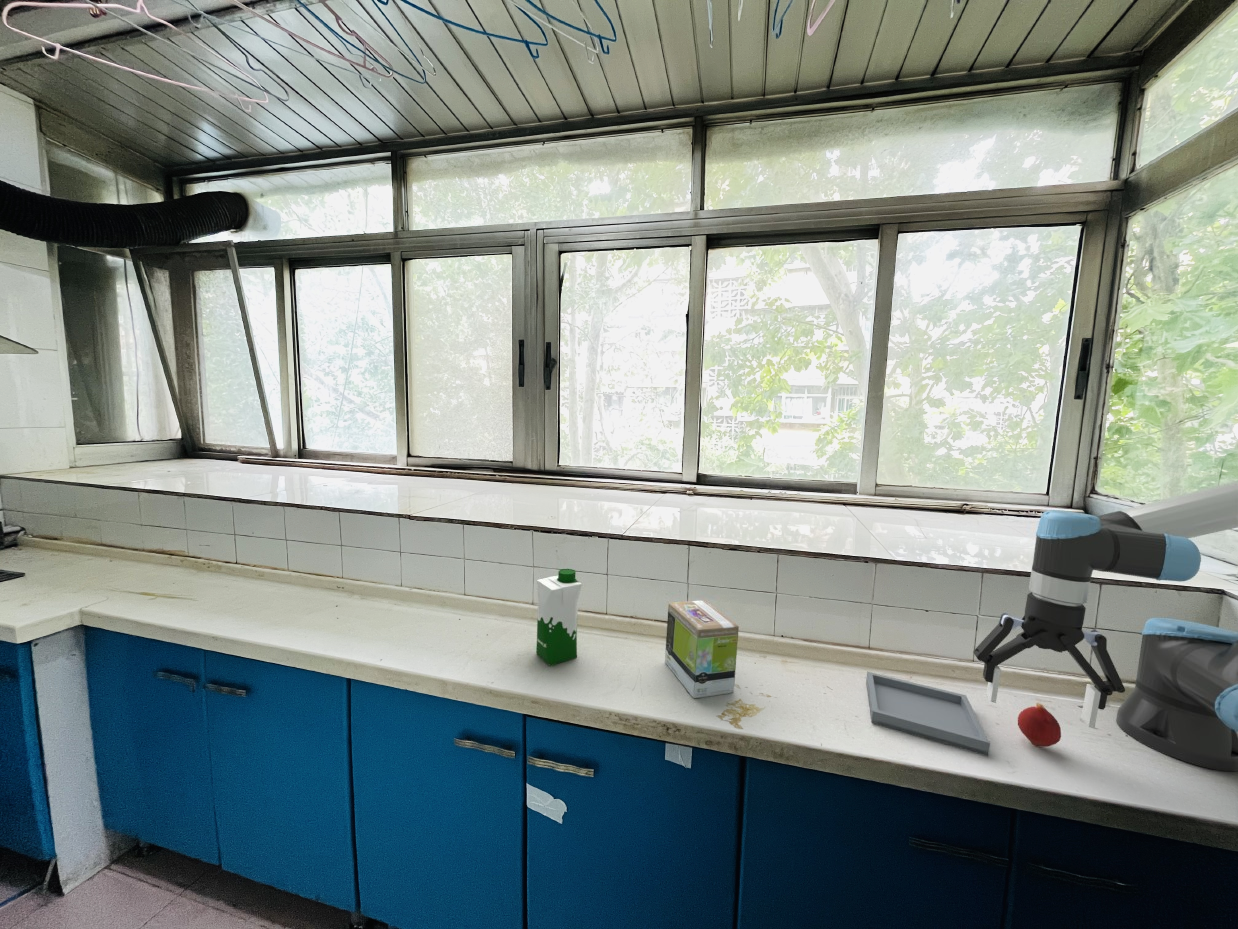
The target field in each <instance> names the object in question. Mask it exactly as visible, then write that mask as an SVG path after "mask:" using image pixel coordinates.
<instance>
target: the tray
mask: <svg viewBox="0 0 1238 929" xmlns="http://www.w3.org/2000/svg"><path fill="white" fill-rule="evenodd" d="M865 678H866V679H865V685H866V691H867V699H868V706H869V714H870V721H871V724H872V725H876V726H880V727H884V728H886V729H890V730H894V731H897V732H899V733H900V732H901V733H904V734H908V735H911V736H916V737H919V738H921V739H925V740H929V741H933V742H937V743H939V744H944V745H947V746H951V747H954V748H958V749H962V750H965V751H968V752H971V753H975V754H978V755H982V756H986V757H989V756H990V755H989V754H990V747H991V742H990V740H989V738H988V736H987V735H986V733H985V730H984V729H983V726H982V724H981V723H980V720H979V718H978V717H977V715H976V714H977V713H975V711H974V709H973V706H972V705H971V702H970V701H969V698H968V696H967V695H966V694H962V693H959V692H954V691H949V690H946V689H942V688H938V687H933V686H929V685H924V684H921V683H918V682H917V683H916V682H913V681H909V680H904V679H900V678H895V677H892V676H888V675H884V674H881V673H875V672H871V671H867V672H866V677H865Z"/></svg>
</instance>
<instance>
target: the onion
mask: <svg viewBox="0 0 1238 929" xmlns="http://www.w3.org/2000/svg"><path fill="white" fill-rule="evenodd" d="M1060 725H1061V724H1059V722H1058V720H1057V718H1056V717H1055V716H1054V715H1053V714H1052V713H1051V712H1049V711H1048V710H1047V709H1046V708H1045V706H1044V705H1043V704H1042V703H1040V702H1036V706H1030V707H1027V708H1024V709H1023V710H1021V711H1020V712H1019V713H1018V716H1017V727H1018V728H1019V730H1020V732H1021V733H1022V734H1023V735H1024V736H1025V738H1026V739H1027V740H1028V741H1029V742H1030V743H1031V744H1032V745H1033V746H1035V747H1041V748H1044V747H1050V746H1054V745H1057V744H1058V743H1059V742H1060V741H1061V738H1062V730H1061V726H1060Z"/></svg>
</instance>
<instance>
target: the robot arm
mask: <svg viewBox="0 0 1238 929" xmlns="http://www.w3.org/2000/svg"><path fill="white" fill-rule="evenodd" d="M1237 528H1238V480H1236V481H1231V482H1228V483H1227V482H1226V483H1223V484H1220V485H1219V484H1218V485H1216V486H1212V487H1208V488H1203V489H1200V490H1196V491H1192V492H1188V493H1184V494H1180V495H1176V496H1172V497H1169V498H1165V499H1160V500H1157V501H1153V502H1149V503H1145V504H1141V505H1138V506H1134V507H1133V506H1132V507H1130V508H1126V509H1122V510H1117V511H1112V512H1109V513H1104V514H1101V515H1093V514H1087V513H1083V512H1082V513H1081V512H1078V511H1077V512H1074V511H1068V510H1059V509H1058V510H1057V509H1056V510H1055V509H1051V510H1046V511H1044V512H1042V513H1041V516H1040V519H1039V521H1038V525H1037V530H1036V532H1035V536H1036V537H1035V544H1034V552H1033V561H1032V564H1031V565H1032V566H1031V571H1030V578H1029V583H1028V591H1030V592H1029V593H1027V596H1026V601H1025V607H1024V615H1023V616H1022V617H1021V619H1020V618H1017V617H1013V616H1011V615H1010V614H1008V613H1006V612H1005V613H1002V614H1001V615H1000V617H999V621H998V624H997V625H996V626H995V627H994V628H993V629H992V630H991V631H990V633H988V635H986V637H984V639H983V640H982V641H981V642H980V643H979V644H978V645H977V646H976V647H975V649H974V650H973V652H972V653H973V654H974V655H975V657H976V659H977V660H978V661H980V662H983V663H984V665H983V671H982V676H983V679H984V681H985V682H987V687H986V694H985V695H986V697H987V698H988V699H989V701H990V703H994V704H997V698H998V692H999V685H1000V679H1001V678H1000V677H1001V672H1002V668H1000V666H999V665H1001V664H1002V663H1004V662H1006V661H1007V660H1009V659H1011V658H1012V657H1015V655H1019V653H1021V652H1023V651H1025V650H1026V649H1031V648H1033V647H1034V646H1035V647H1038V649H1042V650H1052V651H1054V652H1057V653H1063V652H1066V651H1067V652H1068V654H1069V655H1070V656H1071V657H1072V659H1073V660H1074V661H1075V662H1076V663H1077V665H1078V666H1079V667H1080V668H1081V669H1082V671H1083V672H1084V674H1085V675H1086V676H1087V677H1088V679H1089V680H1090V681H1091V682H1092V683H1093V684H1089V683H1087V684H1086V687H1085V694H1084V697H1083V698H1084V699H1083V705H1082V711H1081V717H1080V718H1081V720H1082V721H1083V722H1084V724H1085V725H1086V726H1087V727H1088V728H1091V729H1095V727H1096V723H1097V716H1098V712H1099V710H1101V711H1102V710H1103V711H1104V710H1105V708H1106V707H1107V699H1108V696H1112V695H1113V693H1116V692H1117V693H1120V694H1124V693H1125V692H1126V688H1125V686H1124V683H1123V681H1122V680H1121V677H1120V676H1119V673H1118V671H1117V668H1116V667H1115V665H1114V662H1113V659H1112V658H1111V655H1110V653H1109V652H1108V650H1107V645H1108V640H1107V637H1106V636H1104V635H1103V634H1102V633H1100V632H1099V631H1098V630H1096V629H1095V630H1094V629H1093V630H1090V631H1084V630H1083V626H1084V622H1085V616H1086V611H1087V610H1086V609H1087V608H1086V606H1085V605H1084V604H1087V603H1088V599H1089V598H1088V597H1089V592H1090V586H1091V582H1092V581H1091V580H1092V577H1093V576H1092V575H1093V571H1097V572H1102V573H1104V572H1106V573H1113V574H1117V575H1118V574H1120V575H1125V576H1131V577H1132V576H1134V577H1137V578H1138V577H1139V578H1146V579H1153V580H1156V581H1168V582H1169V581H1171V582H1178V583H1179V582H1186V581H1189V580H1191V579H1193V578H1194V577H1195V576H1196V575H1197V574H1198V572H1199V571H1200V567H1201V562H1202V555H1201V552H1200V550H1199V548H1198V545H1196V543H1195V542H1193V541H1192V540H1191V538H1192V539H1193V538H1195V537H1196V538H1197V537H1200V536H1206V535H1210V534H1213V533H1214V534H1215V533H1218V532H1224V531H1227V530H1232V529H1237ZM1018 627H1021V629H1022V632H1020V633H1018V634H1017V635H1015V636H1016V637H1014V638H1012V639H1011V640H1009V641H1008V642H1006V643H1004V644H1002V642H1004V640H1005V639H1006V638H1007V637H1008V635H1009V634H1010V633H1011V632H1012V630H1013V631H1014V630H1016V628H1018ZM1141 636H1142V637H1141V645H1140V652H1139V658H1138V665H1137V671H1136V679H1135V685H1134V688H1133V689H1132V691H1131V692H1130V693H1129V695H1128V696H1126V698H1125V700H1124V701H1123V702H1122V703H1121V705H1120V706H1119V707H1118V709H1117V712H1116V719H1115V721H1116V724H1117V725H1118V726H1119V728H1120V729H1121V730H1123V731H1124V732H1125V733H1126V734H1128V735H1129V736H1130V737H1132V738H1134V739H1135V740H1137V741H1138V742H1140V743H1142V744H1144V745H1146V746H1148V747H1149V748H1151V749H1153V750H1156V751H1158V752H1161V753H1162V754H1164V755H1167V756H1170V757H1172V758H1174V759H1178V760H1180V761H1183V762H1186V763H1189V764H1193V765H1196V766H1199V767H1202V768H1206V769H1207V768H1208V769H1210V770H1215V771H1216V770H1217V771H1224V772H1237V771H1238V632H1237V631H1233V630H1230V629H1226V628H1222V627H1218V626H1213V625H1210V624H1204V623H1199V622H1194V621H1188V620H1182V619H1176V618H1170V617H1167V618H1166V617H1151V618H1149V619H1148V620H1147V621H1146V622H1145V625H1144V627H1143V630H1142V632H1141ZM1083 640H1085V641H1086V642H1087V643H1088V644H1089V645H1090V647H1091V649H1092V652H1093V654H1094V656H1095V658H1096V661H1097V662H1098V664H1099V666H1100V669H1101V671H1102V673H1103V675H1104V677H1105V679H1106V680H1103V679H1102V677H1101V676H1100V674H1098V672H1097V671H1096V670H1095V669H1094V668H1093V667H1092V665H1091V664H1090V663H1089V662H1088V660H1087V659H1086V657H1084V655H1083V654H1082V652H1081V651H1080V650H1079V649H1078V647H1077V645H1078V644H1079V643H1081V642H1082V641H1083ZM1000 644H1002V645H1001V646H999V645H1000ZM998 646H999V647H998ZM997 647H998V648H997Z"/></svg>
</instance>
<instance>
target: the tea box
mask: <svg viewBox="0 0 1238 929" xmlns="http://www.w3.org/2000/svg"><path fill="white" fill-rule="evenodd" d="M667 606H668V607H667V622H666V623H667V624H666V635H665V638H666V639H665V653H664V663H665V664H666V665H667V666H668V668H669V669H670V670H671V672H673V674H674V675H675V676H676V678H677V679H678V681H679V682H680V683H681V685H682V686H683V687H684V689H686V690H687V691H688V693H689V695H690V696H692V698H693V699H698V698H707V697H714V696H719V695H726V694H731V693H734V691H735V679H736V668H737V657H738V656H737V655H738V641H739V628H740V626H739V625H738V624H737V623H736V622H735V621H733V620H732V619H731V618H730V617H727V615H725V614H723V613H722V612H721V611H720V610H718V609H717V608H716V607H715V606H713V605H712V604H711V603H709V602H708V601H706V599H705V600H704V599H702V600H692V601H691V600H690V601H689V600H687V601H677V602H676V601H674V602H668V605H667Z"/></svg>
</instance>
